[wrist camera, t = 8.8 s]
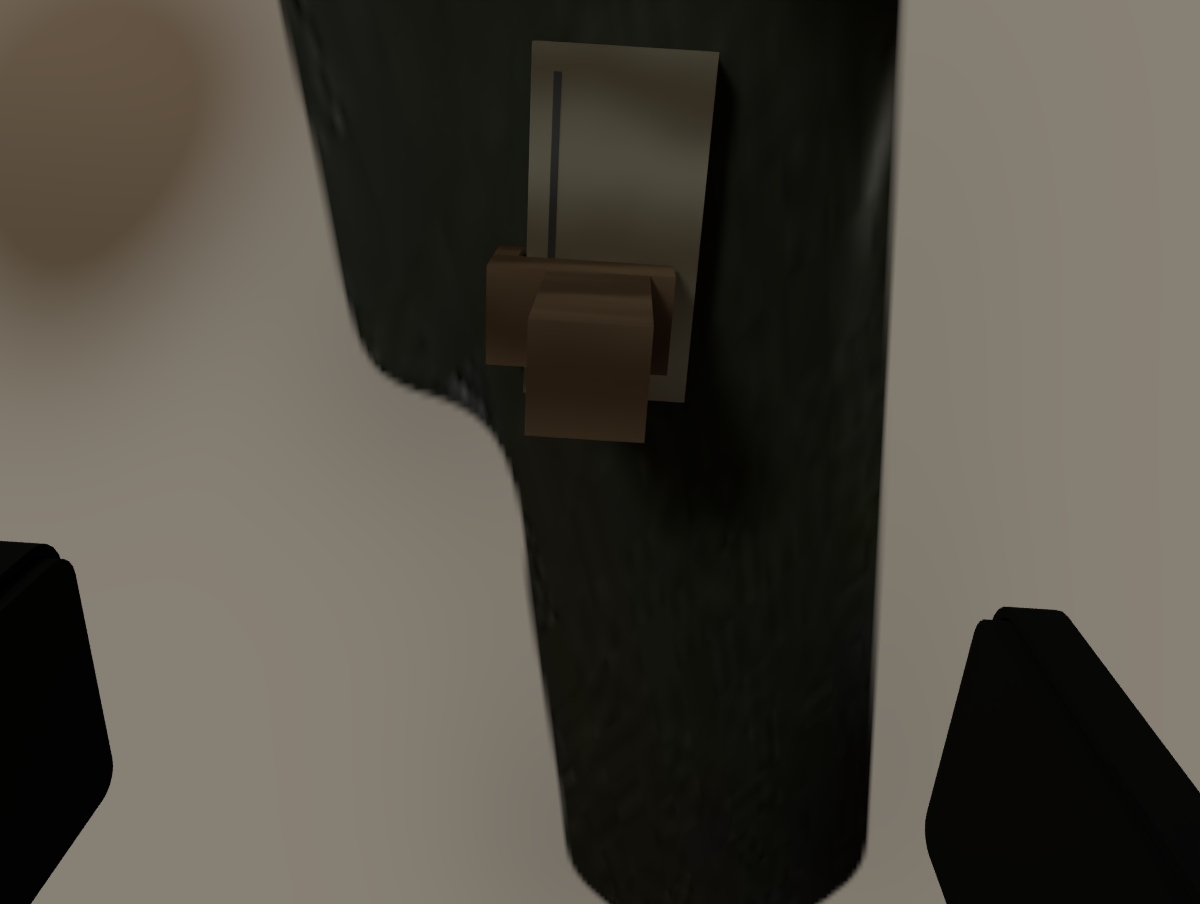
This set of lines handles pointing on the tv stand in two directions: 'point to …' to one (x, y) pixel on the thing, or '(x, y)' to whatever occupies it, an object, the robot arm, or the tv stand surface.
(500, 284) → the brown slider knob
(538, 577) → the tv stand surface
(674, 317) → the board
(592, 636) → the tv stand surface
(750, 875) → the tv stand surface
